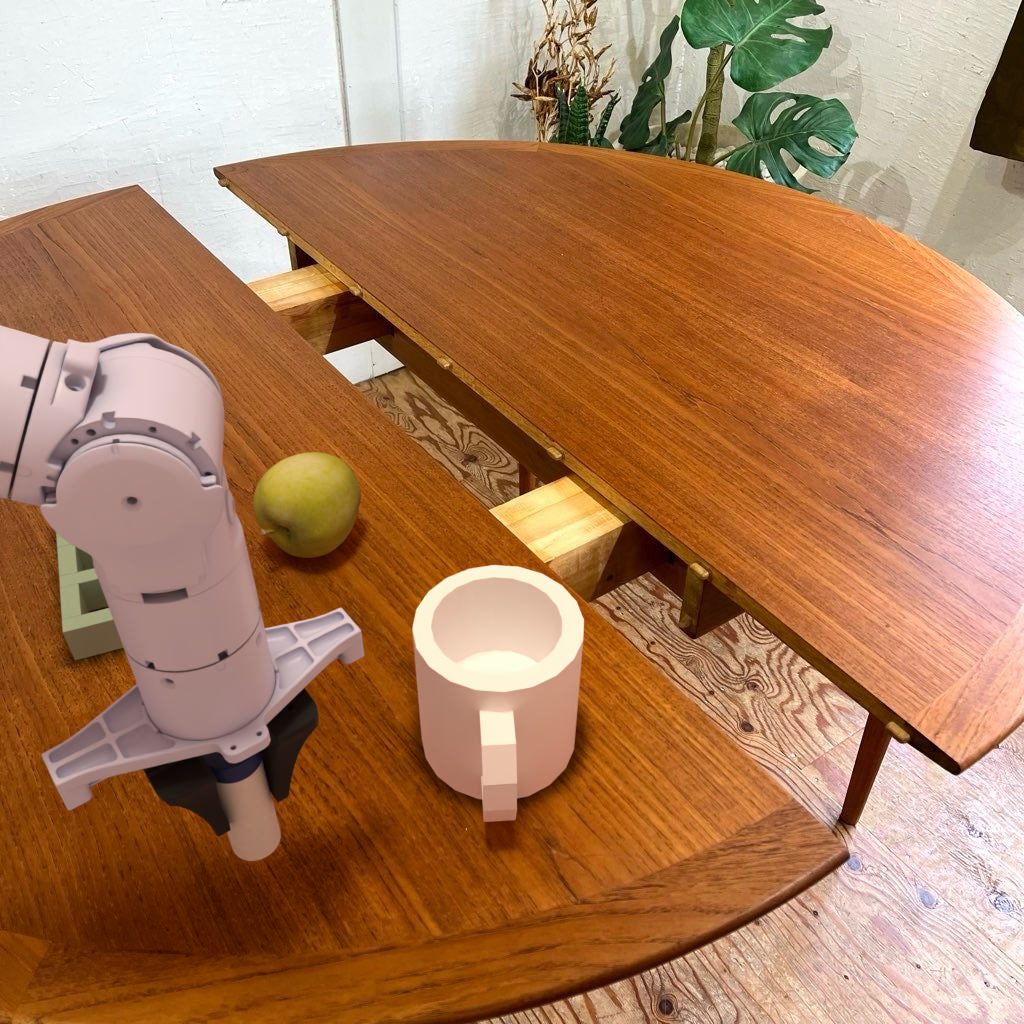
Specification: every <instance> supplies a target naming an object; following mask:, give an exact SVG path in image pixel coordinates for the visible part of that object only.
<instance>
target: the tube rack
mask: <svg viewBox="0 0 1024 1024" xmlns="http://www.w3.org/2000/svg"><path fill="white" fill-rule="evenodd" d="M55 537H56V550H57V551H56V553H57V566H58V581H59V582H58V583H59V598H60V610H61V611H60V613H61V627H62V634H63V636H64V639H65V641H66V643H67V646H68V648H69V650H70V653H71V655H72V658H73V660H74V661H79V660H83V659H86V658H90V657H94V656H98V655H101V654H105V653H109V652H113V651H117V650H120V649H124V648H123V645H122V642H121V639H120V636H119V634H118V631H117V628H116V625H115V623H114V620H113V617H112V615H111V612H110V609H109V607H108V604H107V601H106V599H105V596H104V593H103V590H102V588H101V585H100V582H99V580H98V577H97V574H96V572H95V569H94V566H93V559H92V556H91V555H89V554H88V553H86V552H84V551H83V550H81V549H79V548H77V547H75V546H74V545H72V544H70V543H69V542H67V541H66V540H65V539H63V538H62V537H61V536H60V535H59V534H58V533H56V532H55Z"/></svg>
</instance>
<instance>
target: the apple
mask: <svg viewBox="0 0 1024 1024" xmlns="http://www.w3.org/2000/svg"><path fill="white" fill-rule="evenodd" d="M255 487H256V488H255V489H254V493H253V500H252V501H253V511H254V516H255V519H256V522H257V524H258V526H259V527H260V530H259V534H260V536H261V537H266V536H267V537H268V538H270V540H272V541H273V543H274V544H275V545H276V546H277V547H278V548H280V549H281V550H282V551H283V552H285V553H287V554H288V555H291V556H294V557H297V558H303V559H305V558H306V559H311V558H317V557H321V556H325V555H327V554H330V553H331V552H333V551H335V550H336V549H337V548H339V547H340V546H341V545H342V544H343V543H344V541H345V540H346V539H347V538H348V536H349V535H350V533H351V531H352V530H353V527H354V525H355V523H356V521H357V516H358V514H359V509H360V505H361V500H362V499H361V498H362V491H361V487H360V483H359V481H358V478H357V476H356V474H355V472H354V471H353V469H352V468H351V467H350V466H349V464H348V463H347V462H346V461H345V460H343V459H342V458H340V457H337V456H335V455H333V454H330V453H326V452H321V451H320V452H319V451H312V452H311V451H309V452H302V453H297V454H294V455H291V456H288V457H286V458H284V459H281V460H280V461H278V462H277V463H275V464H274V465H272V466H271V467H270V468H269V469H267V470H266V472H265V473H263V475H262V476H261V478H260V479H259V481H258V483H257V485H256V486H255Z"/></svg>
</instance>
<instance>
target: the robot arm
mask: <svg viewBox="0 0 1024 1024" xmlns="http://www.w3.org/2000/svg"><path fill="white" fill-rule="evenodd" d="M223 400H224V399H223V393H222V390H221V387H220V385H219V383H218V381H217V379H216V377H215V375H214V374H213V373H212V371H211V370H210V369H209V368H208V367H207V366H206V364H204V363H203V362H202V361H201V360H200V359H199V358H198V357H196V356H195V355H194V354H192V353H191V352H189V351H188V350H186V349H183V348H182V347H180V346H178V345H175V344H172V343H169V342H167V341H166V340H164V339H162V338H161V337H159V335H158V336H157V335H156V334H153V333H146V332H145V333H144V332H129V333H120V334H116V335H111V336H108V337H104V338H102V339H99V340H97V341H91V342H83V341H78V340H74V339H71V338H68V339H67V342H66V343H64V342H61V341H56V340H54V341H52V340H51V339H49V338H45V337H41V336H38V335H35V334H32V333H29V332H25V331H21V330H18V329H14V328H12V327H7V326H4V325H1V324H0V499H4V500H9V498H10V500H11V501H13V502H18V503H23V504H27V505H30V506H36V507H39V511H40V513H41V514H42V516H43V518H44V519H45V521H46V522H47V524H48V525H49V526H50V528H51V529H52V530H53V531H54V532H55V534H56V533H58V534H59V535H60V536H61V537H62V538H63V539H65V540H66V541H67V542H69V543H70V544H72V545H74V546H75V547H77V548H79V549H81V550H83V551H84V552H86V553H88V554H89V555H91V556H92V559H93V566H94V569H95V572H96V574H97V577H98V580H99V582H100V585H101V588H102V590H103V593H104V596H105V599H106V601H107V604H108V607H107V608H109V609H110V612H111V615H112V617H113V620H114V623H115V625H116V628H117V631H118V634H119V636H120V639H121V642H122V645H123V648H122V649H123V650H124V653H125V656H126V659H127V661H128V664H129V667H130V669H131V671H132V674H133V677H134V679H135V683H136V684H135V685H133V686H132V687H130V689H128V690H127V691H126V692H125V693H123V694H122V695H121V696H119V698H117V699H116V700H115V701H113V703H111V704H110V705H109V706H108V707H107V708H105V709H104V710H103V711H102V712H101V713H99V714H97V716H96V717H94V718H93V719H92V720H91V721H90V722H88V723H87V724H86V725H84V727H82V728H81V729H80V730H78V731H76V733H74V734H73V735H72V736H70V737H69V738H67V739H66V740H64V741H62V742H60V743H59V744H57V745H55V746H54V747H52V748H50V749H48V750H46V751H45V752H42V753H41V759H42V760H43V762H44V765H45V766H46V769H47V771H48V773H49V775H50V777H51V780H52V782H53V784H54V786H55V788H56V791H57V792H58V794H59V796H60V797H61V800H62V801H63V805H64V806H65V807H66V810H67V811H72V810H74V809H76V808H78V807H79V806H82V805H83V804H85V803H87V802H89V801H90V800H91V799H92V798H93V792H92V790H91V787H93V786H95V785H96V784H98V783H101V782H103V781H105V780H106V779H109V778H110V777H116V776H119V775H124V774H128V773H132V772H137V771H140V770H142V771H143V773H144V775H145V776H146V778H147V780H148V782H149V783H150V785H151V787H152V789H153V791H154V792H155V794H156V795H157V796H158V798H160V800H161V801H163V802H164V803H165V804H166V805H168V807H178V808H181V809H185V810H188V811H190V812H191V813H193V814H195V815H197V816H199V817H200V818H201V819H203V820H204V821H205V822H206V823H207V824H209V826H210V827H211V829H212V831H213V833H214V835H215V836H216V837H220V838H221V836H223V835H224V834H226V833H227V832H228V831H230V830H231V829H230V823H229V821H228V819H227V817H226V815H225V813H224V811H223V809H222V807H221V805H220V801H219V797H218V792H217V779H216V777H215V775H214V774H213V772H212V770H211V769H210V767H209V766H208V764H207V762H206V761H205V759H204V757H203V756H202V755H205V754H209V753H213V752H219V753H221V754H222V756H223V757H224V759H225V760H226V761H227V762H229V763H238V762H241V761H243V760H245V759H247V758H248V757H250V756H252V755H254V754H256V753H258V752H259V751H261V750H263V758H262V762H263V765H264V769H265V773H266V777H267V781H268V785H269V789H270V792H271V796H273V798H274V799H275V801H276V803H280V802H282V801H284V800H285V799H287V798H289V796H290V789H291V783H292V778H293V774H294V768H295V766H296V762H297V759H298V757H299V754H300V752H301V750H302V748H303V746H304V745H305V743H306V741H307V740H308V738H309V737H310V736H311V734H312V733H313V732H314V731H315V730H316V728H317V727H319V710H318V705H317V703H316V701H315V700H314V699H313V697H312V696H311V694H310V693H309V692H308V690H307V689H306V687H307V686H308V685H309V684H310V683H311V682H312V681H313V680H314V679H316V678H317V676H318V675H319V674H320V673H322V672H323V671H324V670H325V669H326V667H328V666H329V665H330V664H331V663H333V662H334V661H336V660H338V659H339V660H340V661H341V663H343V664H344V665H349V664H353V663H355V662H356V661H358V660H360V659H362V658H364V657H365V650H364V642H363V635H362V629H361V628H360V627H359V626H358V625H357V624H356V622H355V621H354V620H353V619H352V618H351V616H349V614H348V613H347V612H346V611H345V610H344V609H343V607H339V608H336V609H334V610H332V611H329V612H327V613H325V614H321V615H318V616H316V617H315V616H314V617H312V618H307V619H303V620H299V621H294V622H289V623H284V624H280V625H279V624H278V625H275V626H271V627H265V623H264V619H263V615H262V610H261V605H260V599H259V594H258V590H257V586H256V582H255V578H254V572H253V569H252V563H251V560H250V559H251V558H250V555H249V550H248V547H247V541H246V538H245V533H244V529H243V528H244V527H243V525H242V523H241V521H240V520H241V519H240V518H239V516H238V514H237V513H236V504H235V503H236V502H235V498H234V496H233V494H232V492H231V490H230V487H229V483H228V482H229V481H228V478H227V474H226V470H225V466H224V464H223V458H224V457H223V455H224V440H225V439H224V437H225V436H224V435H225V419H226V418H225V416H226V415H225V405H224V401H223Z"/></svg>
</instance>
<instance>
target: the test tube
mask: <svg viewBox="0 0 1024 1024" xmlns="http://www.w3.org/2000/svg"><path fill="white" fill-rule="evenodd" d="M202 756H203V757H204V759H205V761H206V762H207V764H208V766H209V767H210V769H211V770H212V772H213V774H214V775H215V777H216V779H217V792H218V797H219V801H220V805H221V807H222V809H223V811H224V813H225V815H226V817H227V819H228V821H229V823H230V829H231V830H230V831H228V832H227V837H228V840H229V843H230V846H231V849H232V851H233V853H234V854H235V856H236V857H238V858H239V859H241V860H244V861H249V862H255V861H260V860H263V859H265V858H267V857H269V856H270V855H271V854H272V853H274V851H276V849H277V848H278V846H279V844H280V842H281V837H282V835H281V834H282V832H281V827H280V824H279V819H278V816H277V812H276V808H275V804H274V801H273V798H272V796H273V795H272V793H271V792H270V789H269V785H268V781H267V777H266V773H265V769H264V765H263V762H262V758H263V750H261V751H259V752H258V753H256V754H254V755H252V756H250V757H248V758H247V759H245V760H243V761H241V762H238V763H229V762H227V761H226V760H225V759H224V757H223V756H222V754H221V753H219V752H213V753H209V754H205V755H202Z"/></svg>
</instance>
